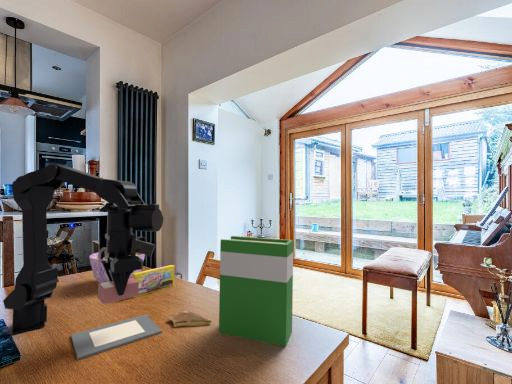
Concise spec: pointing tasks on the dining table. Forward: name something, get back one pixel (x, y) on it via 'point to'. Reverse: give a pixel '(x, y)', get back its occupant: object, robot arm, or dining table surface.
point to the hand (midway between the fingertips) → (118, 292)
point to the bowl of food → (99, 270)
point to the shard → (188, 319)
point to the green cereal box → (256, 289)
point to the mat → (113, 335)
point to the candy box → (154, 279)
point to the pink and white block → (110, 294)
